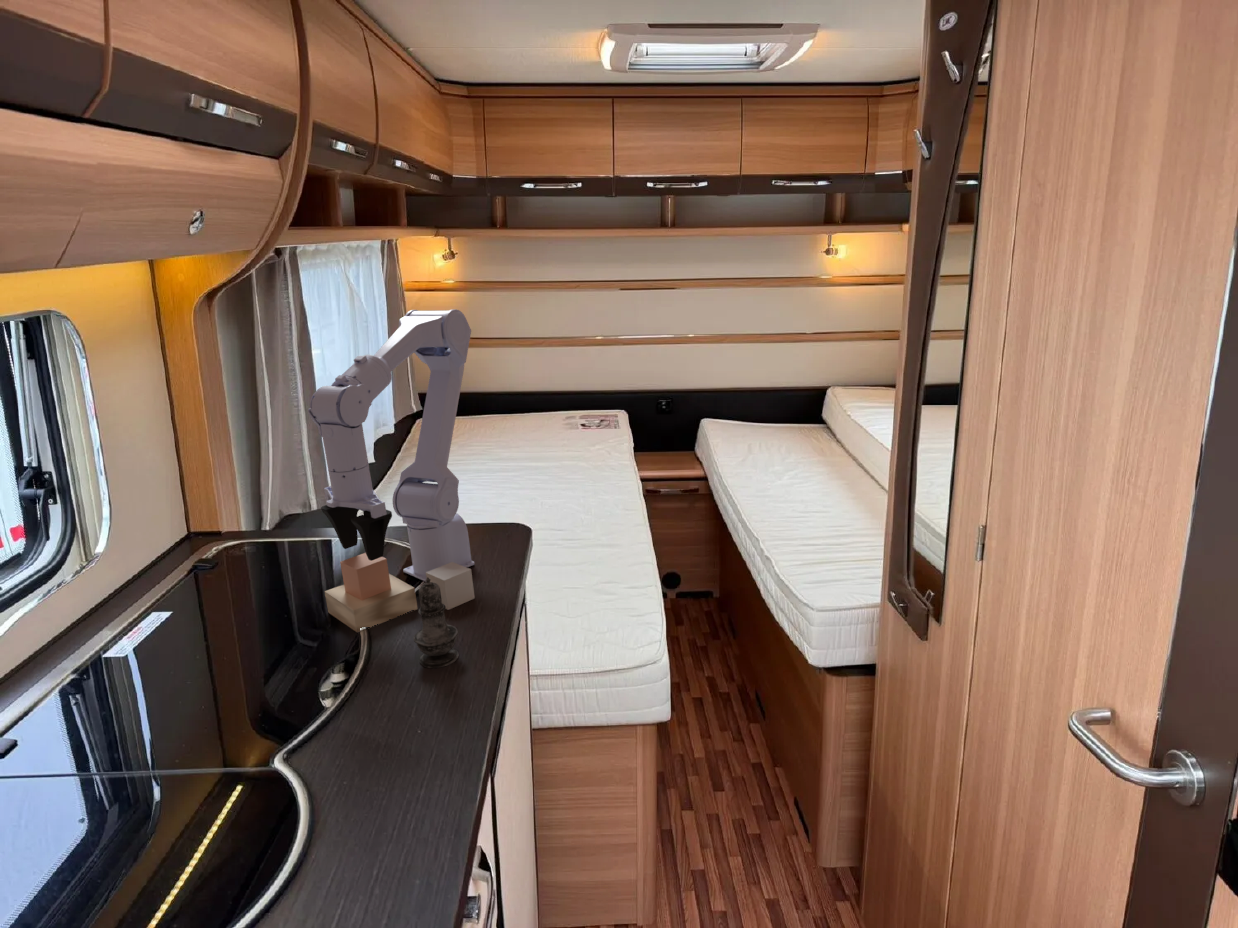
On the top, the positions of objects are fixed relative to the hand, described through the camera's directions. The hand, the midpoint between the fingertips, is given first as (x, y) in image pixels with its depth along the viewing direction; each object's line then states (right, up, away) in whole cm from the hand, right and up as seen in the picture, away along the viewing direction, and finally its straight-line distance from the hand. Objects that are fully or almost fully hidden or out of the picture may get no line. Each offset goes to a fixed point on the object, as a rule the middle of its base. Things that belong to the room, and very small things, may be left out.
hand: (362, 552), depth 131 cm
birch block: (+1, -10, +3) cm, 10 cm away
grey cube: (+13, -8, +5) cm, 16 cm away
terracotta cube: (0, -6, +2) cm, 6 cm away
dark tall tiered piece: (+14, -13, -13) cm, 23 cm away
